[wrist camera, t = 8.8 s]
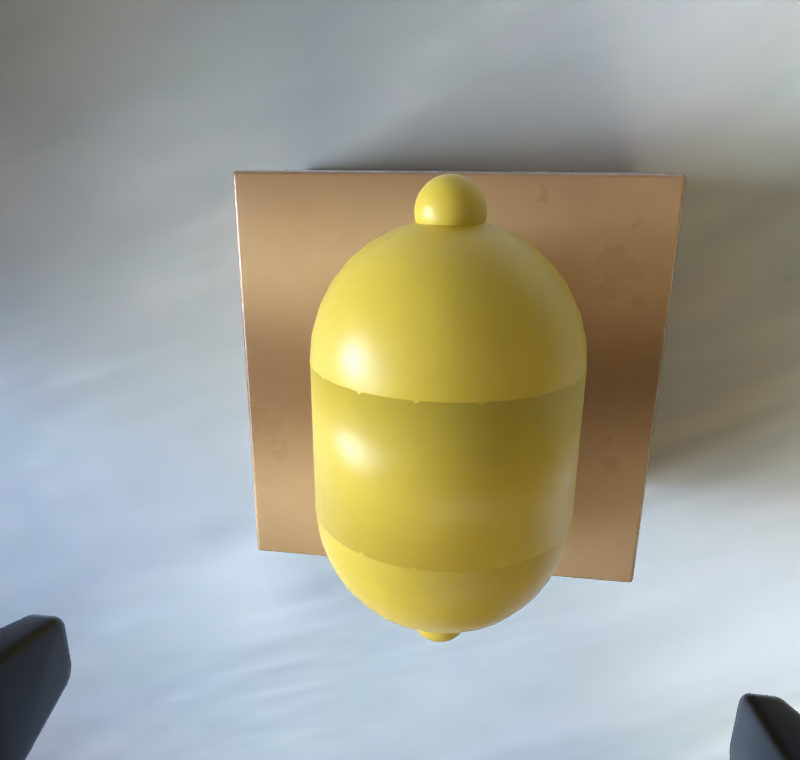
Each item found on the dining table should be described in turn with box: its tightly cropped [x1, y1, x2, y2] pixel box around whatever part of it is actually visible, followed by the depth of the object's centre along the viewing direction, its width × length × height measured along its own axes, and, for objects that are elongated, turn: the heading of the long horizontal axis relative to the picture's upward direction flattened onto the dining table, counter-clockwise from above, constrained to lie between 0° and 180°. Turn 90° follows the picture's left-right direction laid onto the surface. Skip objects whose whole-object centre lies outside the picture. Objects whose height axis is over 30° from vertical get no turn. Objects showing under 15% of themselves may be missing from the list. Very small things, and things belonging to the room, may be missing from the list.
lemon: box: [310, 173, 587, 642], centre depth 12 cm, size 9×5×5 cm, turn 0°
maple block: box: [233, 170, 686, 582], centre depth 17 cm, size 9×9×5 cm
